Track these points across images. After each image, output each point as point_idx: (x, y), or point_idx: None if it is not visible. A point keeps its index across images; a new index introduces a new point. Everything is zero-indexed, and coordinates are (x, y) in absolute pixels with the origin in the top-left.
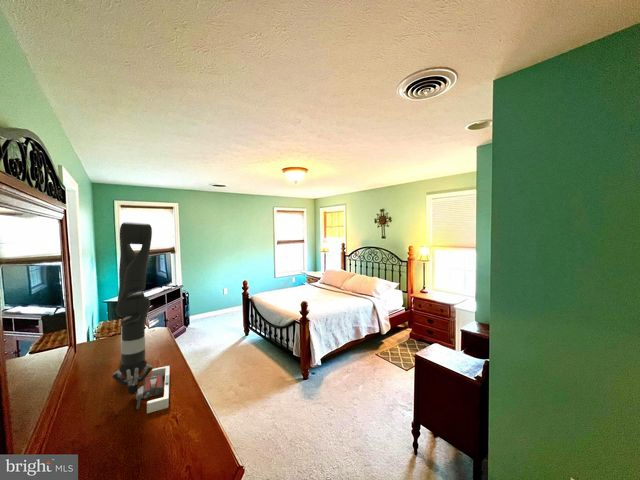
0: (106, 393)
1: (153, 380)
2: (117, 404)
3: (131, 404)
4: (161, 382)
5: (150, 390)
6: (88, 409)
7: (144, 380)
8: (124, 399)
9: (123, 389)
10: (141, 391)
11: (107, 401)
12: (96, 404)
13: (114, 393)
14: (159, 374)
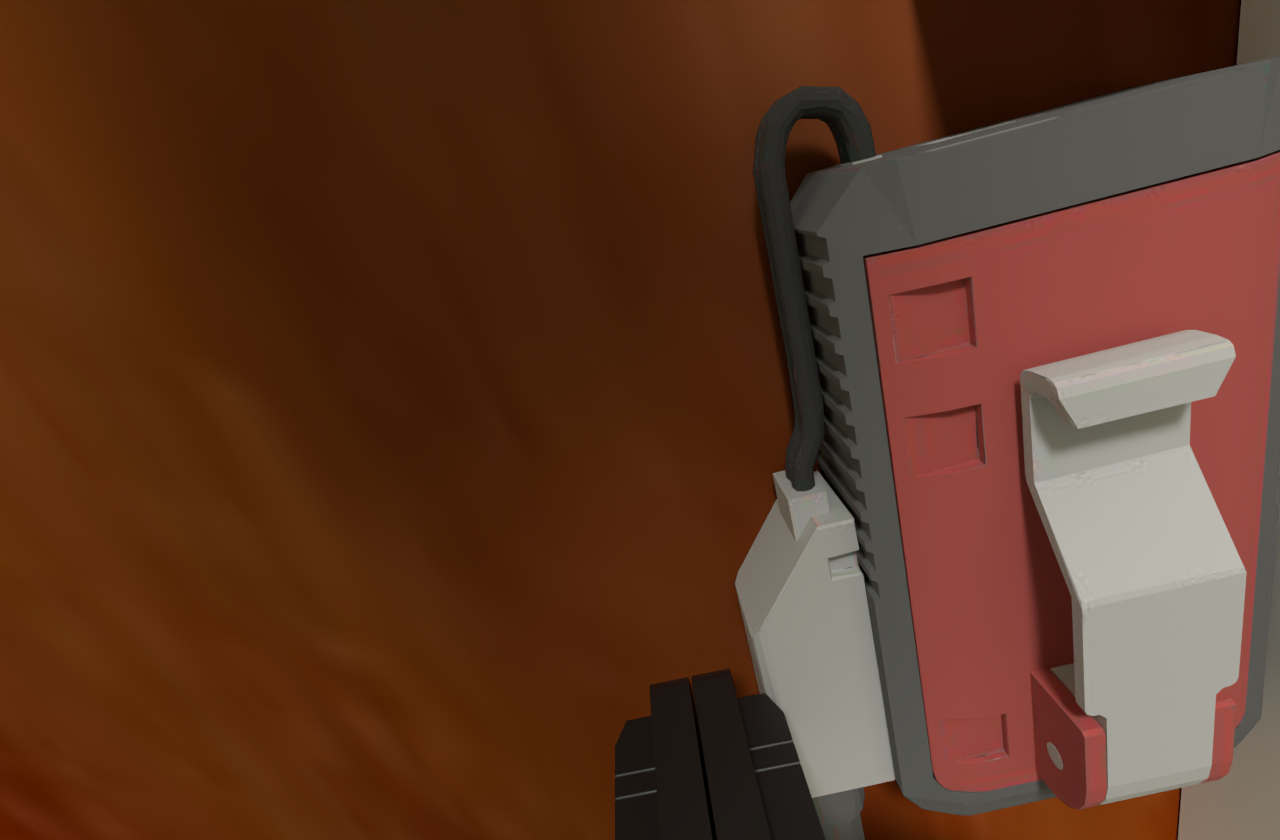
0: (69, 402)
1: (1164, 664)
2: (510, 777)
3: None
4: (1260, 561)
5: (1041, 794)
6: (113, 801)
7: (781, 183)
8: (562, 679)
9: (365, 330)
10: (853, 725)
11: (287, 671)
12: (147, 710)
13: (254, 445)
14: (1251, 115)
